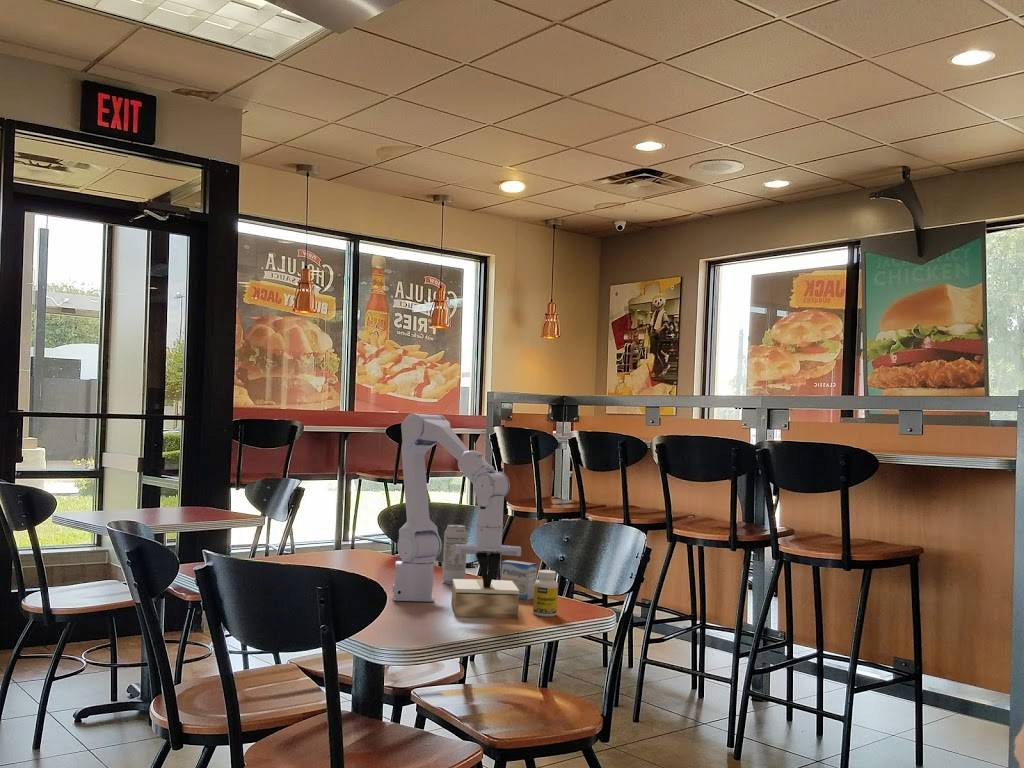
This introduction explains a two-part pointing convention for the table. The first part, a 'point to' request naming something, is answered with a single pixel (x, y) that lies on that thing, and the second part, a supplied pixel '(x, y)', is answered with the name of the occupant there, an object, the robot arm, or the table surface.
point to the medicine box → (520, 576)
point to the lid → (477, 587)
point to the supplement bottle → (545, 594)
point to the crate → (484, 605)
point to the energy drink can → (454, 553)
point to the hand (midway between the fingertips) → (486, 587)
